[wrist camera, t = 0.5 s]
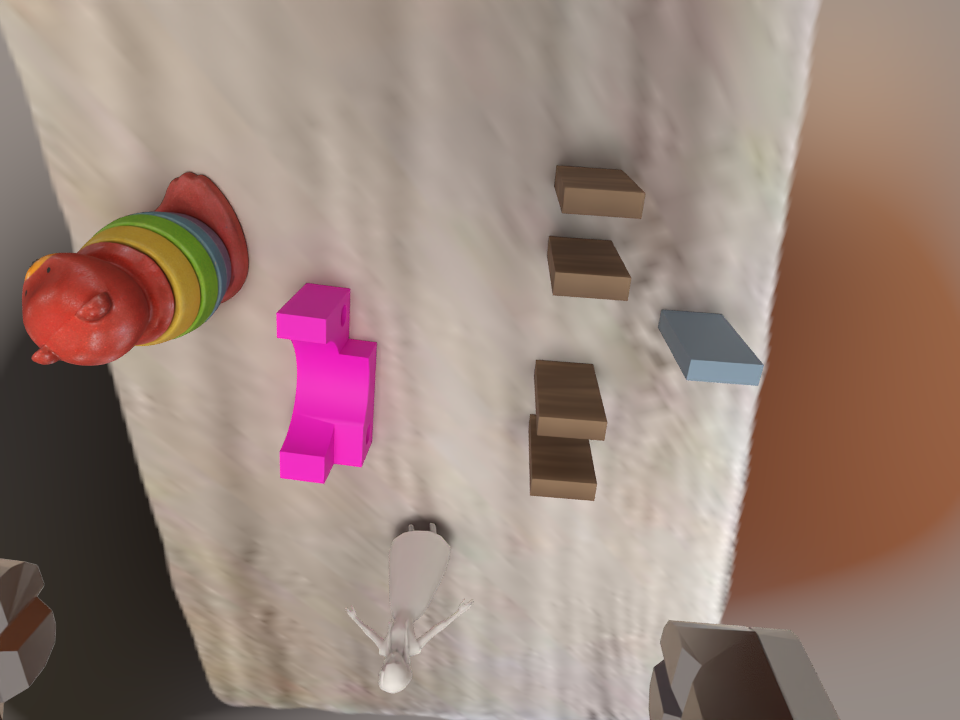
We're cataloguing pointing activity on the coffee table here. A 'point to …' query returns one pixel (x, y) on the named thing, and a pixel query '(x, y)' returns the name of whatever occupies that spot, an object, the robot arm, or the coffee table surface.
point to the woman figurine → (410, 602)
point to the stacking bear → (137, 278)
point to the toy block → (326, 385)
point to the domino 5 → (709, 348)
